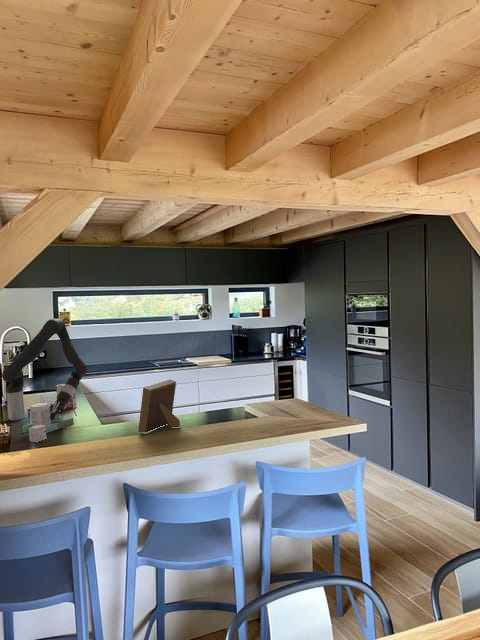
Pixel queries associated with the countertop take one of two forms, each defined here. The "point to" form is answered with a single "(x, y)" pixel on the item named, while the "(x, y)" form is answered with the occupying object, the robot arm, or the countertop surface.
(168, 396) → the photo frame
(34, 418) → the supplement tub
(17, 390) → the robot arm
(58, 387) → the candy bar box
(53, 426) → the chute
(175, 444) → the countertop surface
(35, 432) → the skincare box
